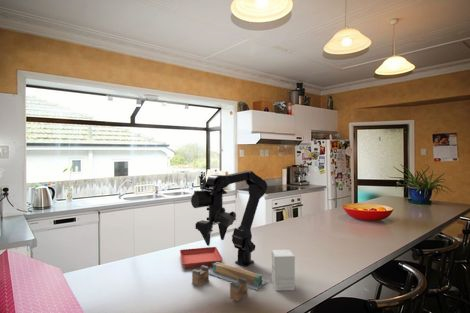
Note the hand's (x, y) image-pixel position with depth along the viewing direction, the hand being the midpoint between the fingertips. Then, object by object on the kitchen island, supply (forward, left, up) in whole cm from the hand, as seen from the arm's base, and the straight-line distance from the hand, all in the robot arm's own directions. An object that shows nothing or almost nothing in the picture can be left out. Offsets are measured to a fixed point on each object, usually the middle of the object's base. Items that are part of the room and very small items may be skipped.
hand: (215, 242), depth 114 cm
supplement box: (-6, +28, -13) cm, 31 cm away
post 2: (+10, +19, -12) cm, 25 cm away
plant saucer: (-6, -14, -13) cm, 20 cm away
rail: (-1, +10, -12) cm, 16 cm away
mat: (-1, +10, -12) cm, 16 cm away
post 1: (+10, +1, -12) cm, 16 cm away
